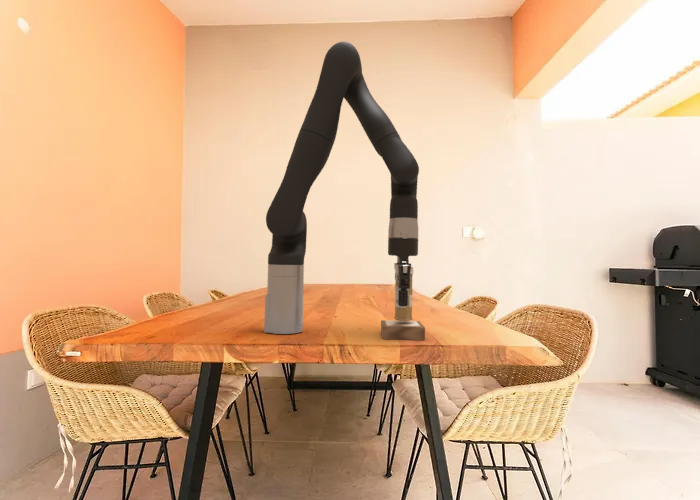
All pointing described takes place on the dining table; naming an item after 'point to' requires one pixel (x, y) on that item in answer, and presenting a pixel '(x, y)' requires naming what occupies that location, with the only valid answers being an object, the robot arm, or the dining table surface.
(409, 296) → the sprinkles bottle
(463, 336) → the dining table surface
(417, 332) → the walnut plinth
